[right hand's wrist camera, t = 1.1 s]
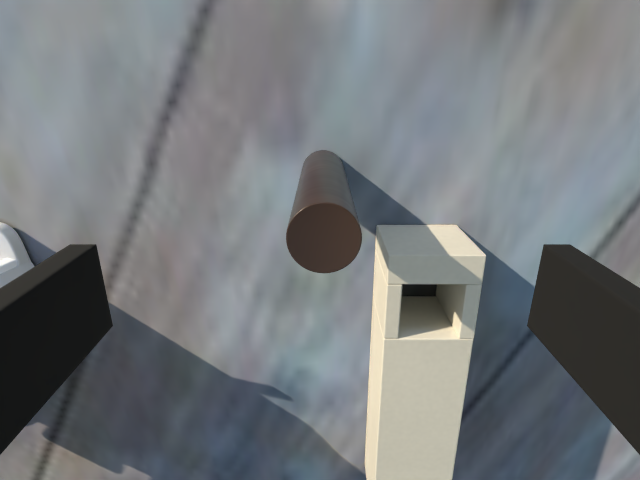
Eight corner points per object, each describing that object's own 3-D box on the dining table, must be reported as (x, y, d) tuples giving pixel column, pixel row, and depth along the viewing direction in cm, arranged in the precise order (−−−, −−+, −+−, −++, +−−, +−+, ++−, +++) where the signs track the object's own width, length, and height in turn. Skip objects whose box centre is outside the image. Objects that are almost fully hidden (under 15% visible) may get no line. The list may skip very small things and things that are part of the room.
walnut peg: (344, 150, 29) (363, 202, 16) (343, 191, 30) (360, 273, 17) (301, 150, 29) (284, 202, 16) (302, 191, 30) (287, 273, 17)
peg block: (456, 224, 31) (486, 255, 25) (427, 463, 39) (445, 527, 33) (376, 224, 31) (388, 255, 25) (364, 463, 39) (371, 527, 33)
